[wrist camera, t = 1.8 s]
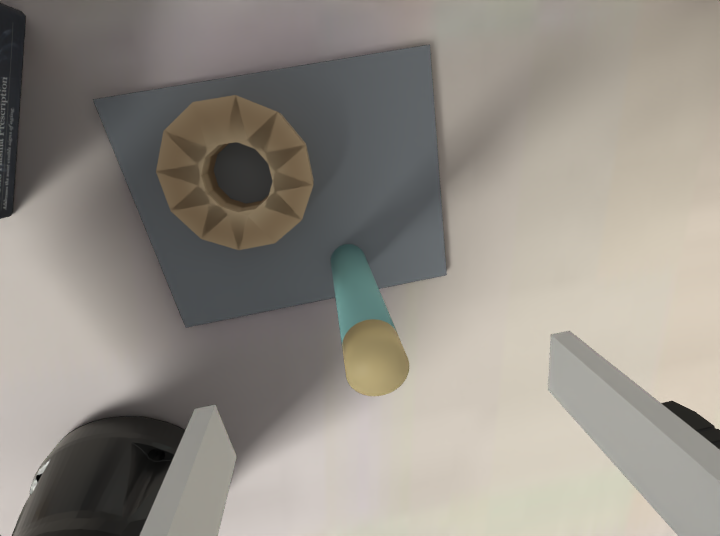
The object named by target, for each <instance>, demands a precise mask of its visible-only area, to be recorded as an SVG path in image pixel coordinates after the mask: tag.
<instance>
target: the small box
mask: <svg viewBox="0 0 720 536" xmlns="http://www.w3.org/2000/svg"><path fill="white" fill-rule="evenodd" d="M24 36H25V15H24V14H23V13H22V12H21V11H19V10H16V9H14V8H12V7H9V6H6V5H4V4H1V3H0V219H1V218H5V217H9V216H11V215H12V211H13V197H14V181H15V168H16V153H17V139H18V122H19V109H20V93H21V78H22V64H23V47H24Z"/></svg>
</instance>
